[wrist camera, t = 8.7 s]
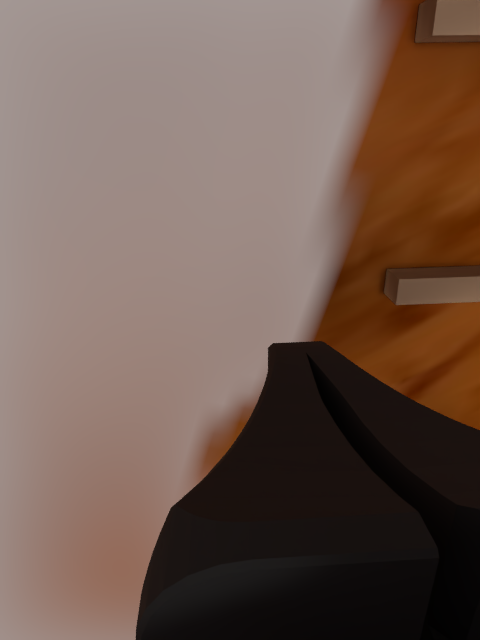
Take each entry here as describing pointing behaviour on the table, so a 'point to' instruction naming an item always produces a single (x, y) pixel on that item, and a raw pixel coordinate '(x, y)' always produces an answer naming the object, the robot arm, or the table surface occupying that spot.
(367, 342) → the table surface
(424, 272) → the guide channel
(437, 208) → the table surface
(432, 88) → the table surface
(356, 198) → the table surface
